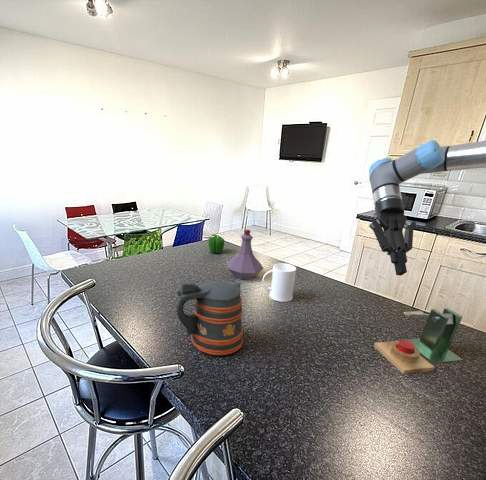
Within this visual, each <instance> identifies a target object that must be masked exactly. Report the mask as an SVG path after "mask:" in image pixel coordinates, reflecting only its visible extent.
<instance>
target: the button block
mask: <svg viewBox="0 0 486 480" xmlns="http://www.w3.org/2000/svg"><path fill="white" fill-rule="evenodd" d="M399 341H400V340H391V341H379V342H378V341H377V342H374V344H373V347H374V348H375V349H376V350H377V351H378V352H379V353H380V354H381V355H382V356H383V357H384V358H385V359H386V360H388V361H389V362H390V363H391V365H393V366H394V367H395V368H396V369H397V370H398V371H399V372H401V374H402V375H408V374H417V373H427V372H434V370H435V368H436V366H435V365H433V363H432V362H430V361H429V360H428V359H427V358H425V357H424V356H423V355H422V354H421V353H420V352H419V350H418V349H417V348H416V347H415V348H414V351H413V353H412V354H407V353H404V352H401V351H400V350H398V349H397V345H398V342H399Z"/></svg>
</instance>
